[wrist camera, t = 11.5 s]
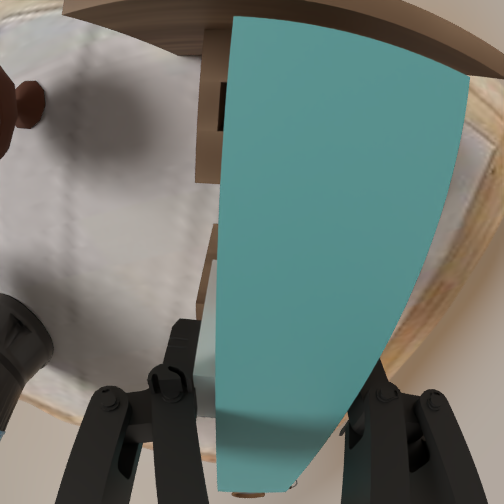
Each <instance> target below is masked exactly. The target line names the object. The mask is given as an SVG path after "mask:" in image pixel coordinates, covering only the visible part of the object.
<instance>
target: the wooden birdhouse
mask: <svg viewBox="0 0 504 504" xmlns="http://www.w3.org/2000/svg"><path fill="white" fill-rule="evenodd" d="M62 15H64V16H68V17H72V18H76V19H79V20H83V21H86V22H89V23H93V24H96V25H99V26H102V27H105V28H108V29H111V30H114V31H117V32H120V33H123V34H126V35H129V36H131V37H134V38H137V39H139V40H142V41H144V42H147V43H149V44H152V45H154V46H157V47H159V48H162V49H164V50H166V51H169V52H171V53H173V54H176V55H178V56H179V55H202V61H201V73H200V86H199V101H198V119H197V140H196V167H195V183H209V184H220V181H221V163H222V147H223V132H224V118H225V104H226V92H227V80H228V68H229V57H230V47H231V37H232V27H233V17H234V16H241V17H255V18H267V19H276V20H284V21H292V22H298V23H305V24H311V25H316V26H321V27H326V28H331V29H336V30H340V31H345V32H349V33H353V34H357V35H361V36H364V37H368V38H371V39H375V40H378V41H381V42H385V43H388V44H391V45H394V46H397V47H400V48H403V49H406V50H408V51H411V52H414V53H416V54H419V55H422V56H424V57H427V58H429V59H432V60H434V61H436V62H439V63H441V64H443V65H445V66H448V67H450V68H452V69H454V70H456V71H458V72H460V73H463V74H465V75H472V76H481V77H490V78H497V79H504V54H503V53H502V52H500V51H499V50H497V49H496V48H494V47H493V46H491V45H489V44H488V43H486V42H485V41H483V40H481V39H480V38H478V37H476V36H475V35H473V34H471V33H470V32H467V31H466V30H464V29H462V28H461V27H459V26H457V25H455V24H453V23H451V22H449V21H447V20H445V19H443V18H441V17H439V16H437V15H435V14H433V13H430V12H428V11H426V10H423V9H421V8H419V7H417V6H414V5H412V4H409V3H407V2H404V1H402V0H64V5H63V11H62Z"/></svg>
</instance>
